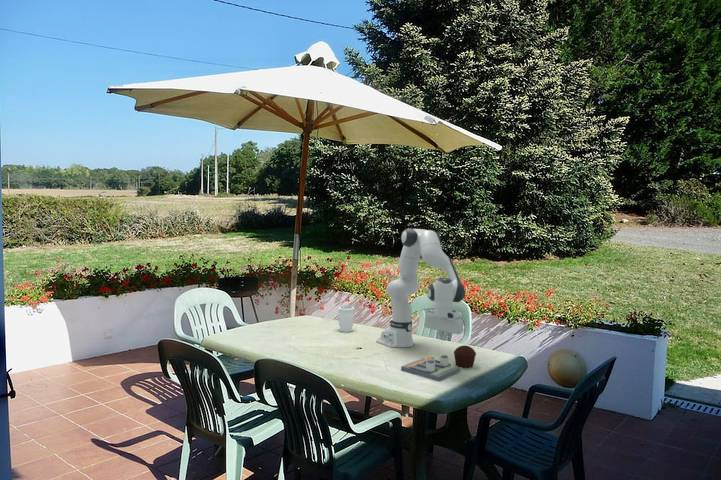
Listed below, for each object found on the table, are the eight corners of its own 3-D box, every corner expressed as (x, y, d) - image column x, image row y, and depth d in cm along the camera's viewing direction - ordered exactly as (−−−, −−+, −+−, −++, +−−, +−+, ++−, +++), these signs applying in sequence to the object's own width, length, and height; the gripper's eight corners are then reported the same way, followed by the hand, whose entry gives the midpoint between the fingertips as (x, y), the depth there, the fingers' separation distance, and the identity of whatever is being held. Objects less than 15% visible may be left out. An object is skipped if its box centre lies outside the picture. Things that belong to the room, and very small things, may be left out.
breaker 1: (425, 370, 253) (426, 361, 252) (429, 369, 255) (429, 359, 255) (431, 372, 251) (431, 362, 250) (434, 370, 253) (435, 361, 253)
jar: (336, 329, 340) (336, 306, 339) (351, 328, 344) (351, 305, 342) (340, 333, 330) (340, 309, 329) (356, 332, 333) (356, 308, 332)
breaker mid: (426, 365, 260) (426, 356, 259) (430, 364, 262) (430, 355, 262) (431, 367, 258) (431, 358, 257) (435, 365, 260) (435, 356, 260)
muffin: (460, 360, 278) (460, 342, 277) (479, 365, 271) (480, 346, 270) (449, 366, 268) (449, 346, 268) (468, 370, 261) (469, 351, 261)
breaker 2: (439, 364, 261) (440, 355, 261) (443, 363, 264) (443, 354, 263) (444, 366, 259) (445, 357, 259) (448, 364, 262) (448, 355, 261)
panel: (401, 370, 260) (401, 364, 260) (423, 361, 274) (423, 356, 274) (438, 381, 246) (438, 375, 245) (459, 371, 260) (460, 366, 260)
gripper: (422, 309, 258) (421, 337, 259) (458, 315, 244) (457, 345, 245) (429, 307, 263) (429, 335, 264) (465, 313, 249) (464, 342, 250)
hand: (443, 340), depth 254 cm, fingers closed
